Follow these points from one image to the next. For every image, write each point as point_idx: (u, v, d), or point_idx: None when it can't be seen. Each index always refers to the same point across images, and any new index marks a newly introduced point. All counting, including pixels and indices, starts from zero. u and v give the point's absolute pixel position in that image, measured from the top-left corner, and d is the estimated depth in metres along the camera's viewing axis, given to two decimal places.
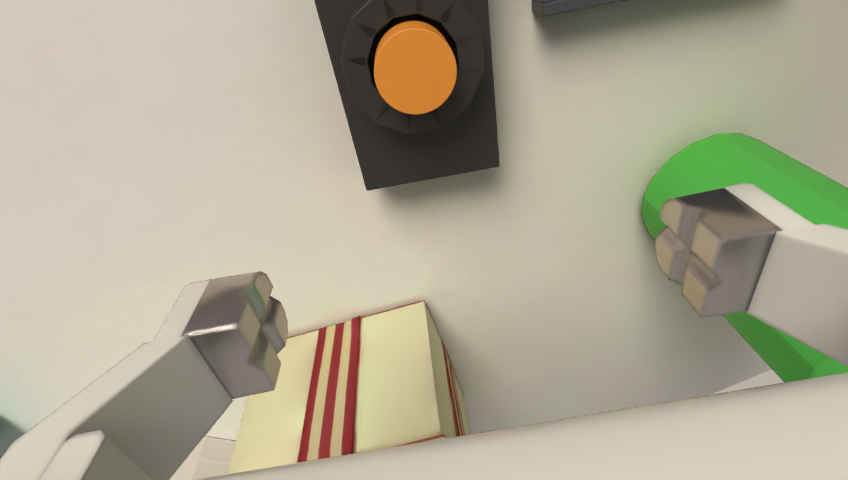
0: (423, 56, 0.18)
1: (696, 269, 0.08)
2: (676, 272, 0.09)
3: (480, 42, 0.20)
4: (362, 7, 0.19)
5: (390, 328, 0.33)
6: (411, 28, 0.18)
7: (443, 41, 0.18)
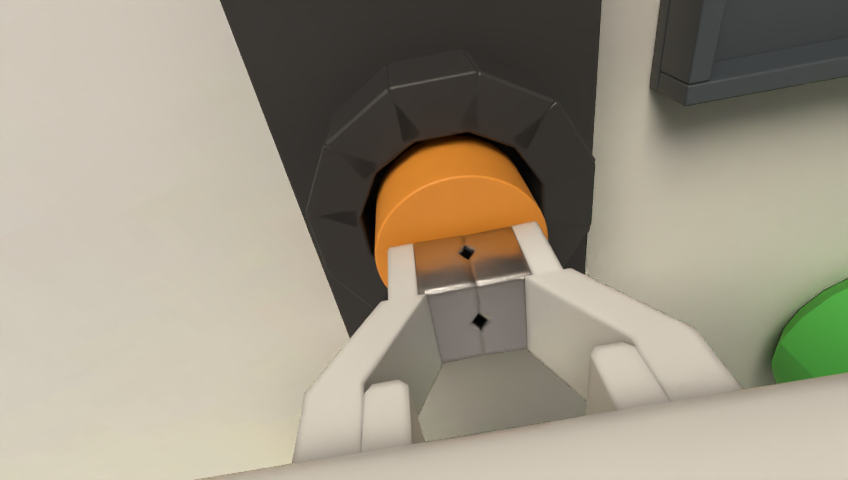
0: (480, 224, 0.09)
1: None
2: None
3: (591, 181, 0.10)
4: (349, 122, 0.09)
5: None
6: (458, 175, 0.08)
7: (526, 198, 0.08)
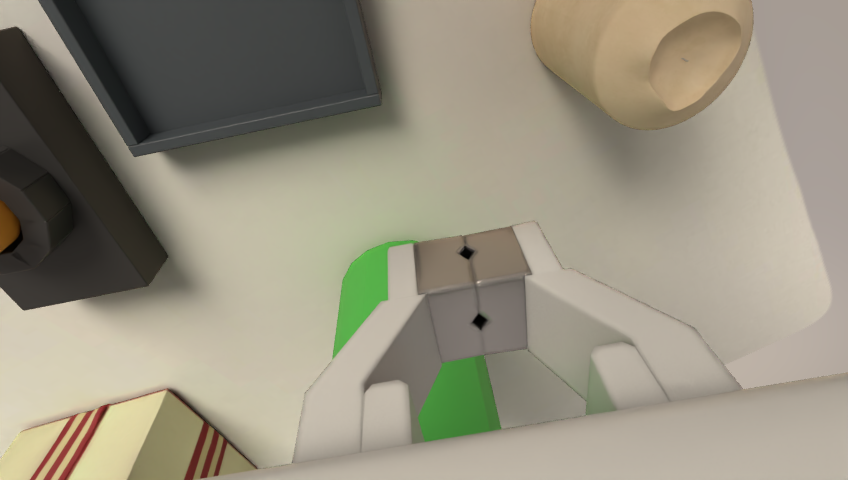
0: None
1: None
2: None
3: (27, 199, 0.20)
4: None
5: (124, 421, 0.34)
6: None
7: None
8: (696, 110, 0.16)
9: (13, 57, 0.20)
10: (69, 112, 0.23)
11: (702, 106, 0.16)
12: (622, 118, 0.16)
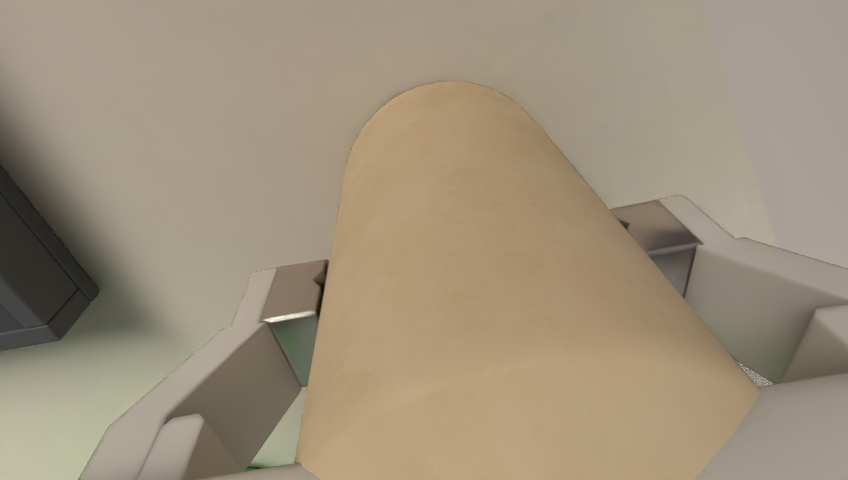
0: None
1: None
2: None
3: None
4: None
5: None
6: None
7: None
8: None
9: None
10: None
11: None
12: None
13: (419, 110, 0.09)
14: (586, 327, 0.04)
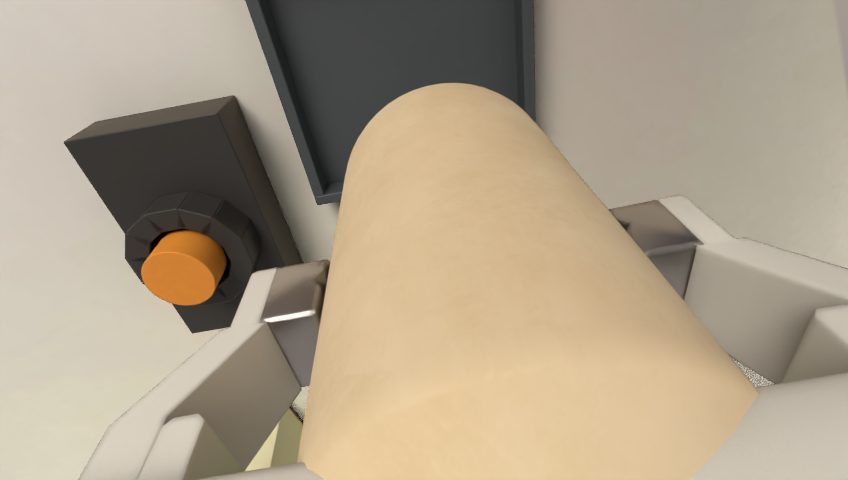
0: (180, 269, 0.22)
1: None
2: None
3: (243, 245, 0.24)
4: (133, 225, 0.23)
5: None
6: (165, 251, 0.22)
7: (194, 259, 0.22)
8: None
9: (235, 123, 0.24)
10: (261, 165, 0.26)
11: None
12: None
13: (420, 112, 0.09)
14: (588, 331, 0.04)
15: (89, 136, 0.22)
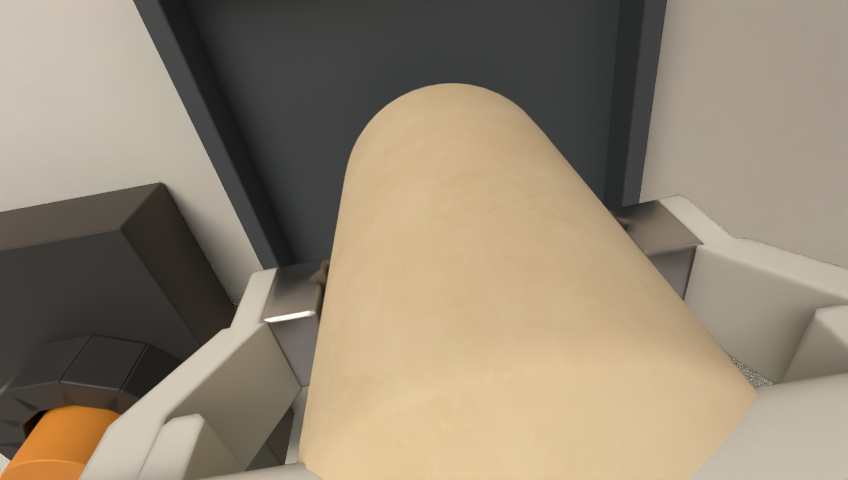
0: (65, 479, 0.14)
1: None
2: None
3: None
4: None
5: None
6: (34, 458, 0.13)
7: None
8: None
9: (161, 230, 0.15)
10: (211, 276, 0.17)
11: None
12: None
13: (419, 113, 0.09)
14: (588, 332, 0.04)
15: None
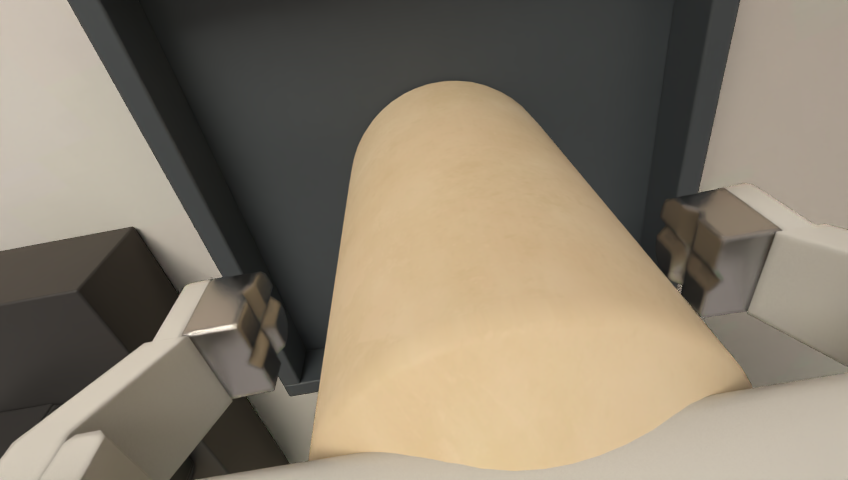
0: None
1: (696, 269, 0.08)
2: (677, 272, 0.09)
3: None
4: None
5: None
6: None
7: None
8: None
9: (131, 284, 0.13)
10: None
11: None
12: None
13: (423, 108, 0.09)
14: (576, 299, 0.04)
15: None
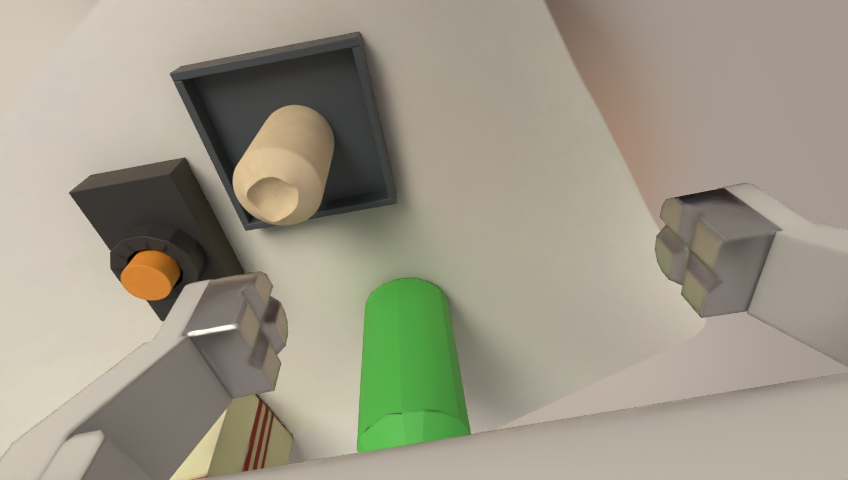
0: (147, 276, 0.34)
1: (696, 269, 0.08)
2: (677, 271, 0.09)
3: (190, 259, 0.35)
4: (115, 247, 0.34)
5: None
6: (136, 264, 0.33)
7: (155, 270, 0.33)
8: (300, 217, 0.28)
9: (184, 177, 0.35)
10: (206, 202, 0.37)
11: (302, 215, 0.28)
12: (262, 220, 0.29)
13: (277, 114, 0.31)
14: (273, 146, 0.26)
15: (86, 188, 0.33)
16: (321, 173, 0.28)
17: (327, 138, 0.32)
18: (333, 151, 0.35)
